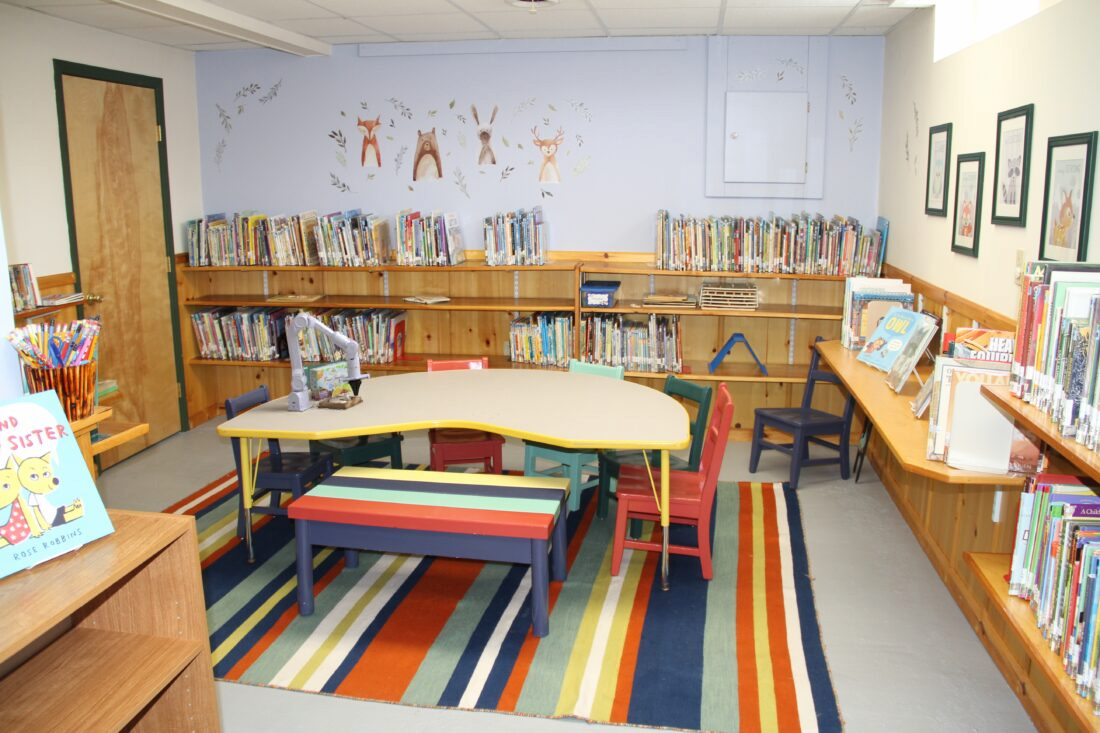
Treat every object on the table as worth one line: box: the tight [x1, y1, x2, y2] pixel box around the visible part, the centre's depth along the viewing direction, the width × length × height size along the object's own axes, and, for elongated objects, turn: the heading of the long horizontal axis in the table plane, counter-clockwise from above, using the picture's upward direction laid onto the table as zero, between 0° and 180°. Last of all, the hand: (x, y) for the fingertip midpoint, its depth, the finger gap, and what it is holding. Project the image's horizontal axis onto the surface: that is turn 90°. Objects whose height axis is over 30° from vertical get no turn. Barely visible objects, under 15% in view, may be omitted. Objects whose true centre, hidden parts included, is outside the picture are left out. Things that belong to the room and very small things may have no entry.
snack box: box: [308, 361, 352, 401], centre depth 425 cm, size 21×6×15 cm, turn 146°
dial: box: [329, 393, 351, 403], centre depth 406 cm, size 10×10×4 cm
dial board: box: [316, 395, 364, 411], centre depth 406 cm, size 15×15×3 cm
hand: (356, 395), depth 406 cm, fingers closed
